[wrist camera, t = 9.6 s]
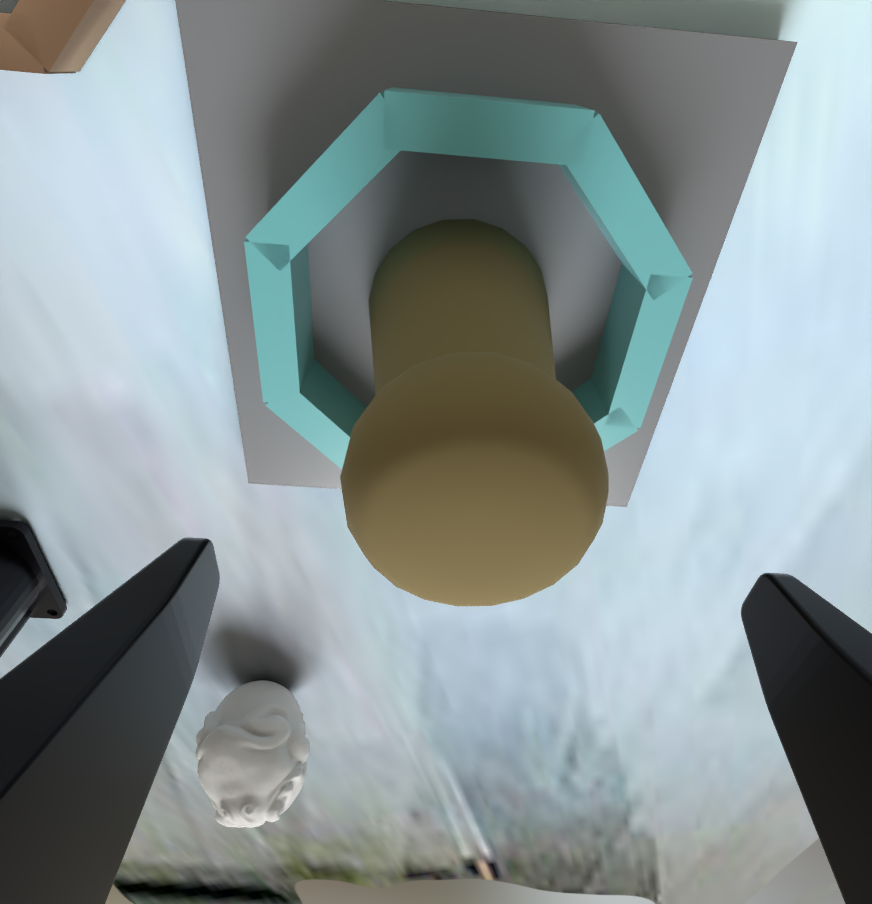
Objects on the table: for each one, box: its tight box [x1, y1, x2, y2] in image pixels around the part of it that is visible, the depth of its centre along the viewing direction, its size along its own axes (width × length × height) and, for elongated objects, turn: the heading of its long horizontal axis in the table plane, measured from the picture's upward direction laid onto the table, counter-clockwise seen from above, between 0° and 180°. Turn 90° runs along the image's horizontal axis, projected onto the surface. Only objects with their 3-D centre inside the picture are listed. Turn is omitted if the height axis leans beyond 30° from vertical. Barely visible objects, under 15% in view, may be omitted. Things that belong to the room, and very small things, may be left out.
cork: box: [340, 219, 609, 606], centre depth 14 cm, size 6×6×11 cm
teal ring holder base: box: [175, 0, 797, 507], centre depth 18 cm, size 16×16×4 cm
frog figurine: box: [196, 680, 310, 828], centre depth 31 cm, size 6×7×7 cm
